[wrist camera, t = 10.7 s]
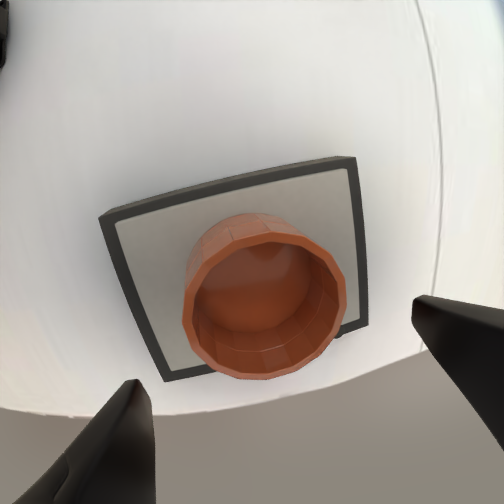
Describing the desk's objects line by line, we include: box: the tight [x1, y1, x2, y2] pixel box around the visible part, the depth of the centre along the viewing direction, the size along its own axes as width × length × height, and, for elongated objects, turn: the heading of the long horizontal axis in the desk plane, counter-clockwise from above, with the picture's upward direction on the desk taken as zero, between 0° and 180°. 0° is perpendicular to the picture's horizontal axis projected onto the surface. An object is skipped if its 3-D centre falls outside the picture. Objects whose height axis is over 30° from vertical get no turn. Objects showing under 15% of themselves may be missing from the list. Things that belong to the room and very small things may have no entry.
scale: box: [98, 156, 368, 382], centre depth 17 cm, size 14×11×3 cm
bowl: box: [182, 213, 347, 380], centre depth 14 cm, size 7×7×4 cm
